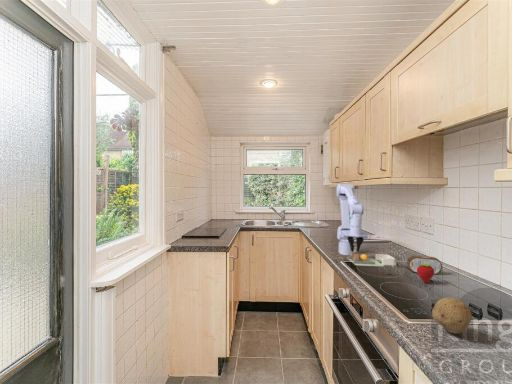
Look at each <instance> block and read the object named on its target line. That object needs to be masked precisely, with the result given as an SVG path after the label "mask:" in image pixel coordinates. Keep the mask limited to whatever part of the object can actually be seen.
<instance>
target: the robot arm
mask: <svg viewBox="0 0 512 384" xmlns="http://www.w3.org/2000/svg"><path fill="white" fill-rule="evenodd" d="M355 189H356V188H355V185H354V184H353V183H351V184H349V183H338V184H336V198H337V199H339V203H340V217H341V225H339V226H338V228H337V231H336V238H337V240H338V248H337V249H338V254H340V255H343V256H350V255H351V252H352V251H353V246H355V245H354V243H355V240H356V246H357V253H358V252H360V248H361V246H362V244H363V242H364V239H370V234H365V233H362V220H363V215H364V211H365V209H364V208H365V207H364V205H363V203H360V201H359V199H358V197H357V196H356V195H355V194H354V193H355Z"/></svg>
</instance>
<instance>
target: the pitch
mask: <svg viewBox="0 0 512 384" xmlns="http://www.w3.org/2000/svg"><path fill="white" fill-rule="evenodd" d="M346 259H348V260H349V261H350V262H351V263H353V264H354V266H363V267H364V266H367V267H368V266H369V267H385V266H397V259H396V258H395V257H394V256H391V255H390V254H387V253H385V254H384V253H383V254H382V253H375V254H374V258H373V257H372V258H371V257H368V260H367V261H361V260H360V256H359V261H353V260H351V259H350V255H347V256H346ZM379 261H381V262H379Z"/></svg>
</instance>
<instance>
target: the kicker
mask: <svg viewBox="0 0 512 384" xmlns="http://www.w3.org/2000/svg"><path fill="white" fill-rule="evenodd" d="M349 256H350V259H351V260H353V261H359V257H360V255H359V254H358V251H357V245H353V251H352V252H351V255H349Z"/></svg>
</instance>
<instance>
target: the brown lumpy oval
mask: <svg viewBox="0 0 512 384" xmlns="http://www.w3.org/2000/svg"><path fill="white" fill-rule="evenodd" d="M431 316H432V318H433V320H434V321H435V322H436V324H438V325H439V326H441V327H442V328H444V329H445V330H446V331H447V332H448V333H450V334H452V333H453V334H452V335H458V334H461V333H463V332H464V331H466V329H467V328H468V327H469V325H470V323H471V321H472V311H471V309H470V308H469V307H468V305H467V304H466V303H465V302H464V301H462V300H460V299H457V298H455V297H443V298H441V299H438V300H437V302H436V303H435V304H434V306H433V308H432V311H431Z"/></svg>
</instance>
